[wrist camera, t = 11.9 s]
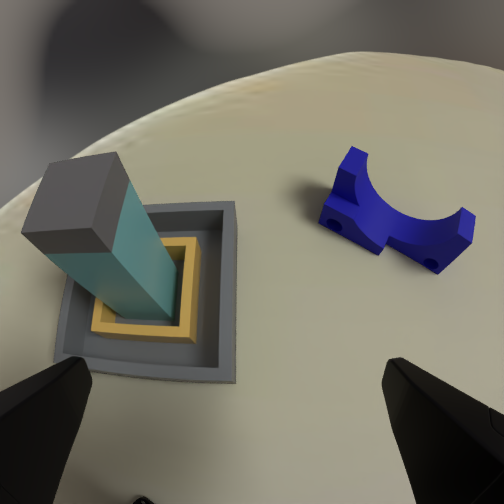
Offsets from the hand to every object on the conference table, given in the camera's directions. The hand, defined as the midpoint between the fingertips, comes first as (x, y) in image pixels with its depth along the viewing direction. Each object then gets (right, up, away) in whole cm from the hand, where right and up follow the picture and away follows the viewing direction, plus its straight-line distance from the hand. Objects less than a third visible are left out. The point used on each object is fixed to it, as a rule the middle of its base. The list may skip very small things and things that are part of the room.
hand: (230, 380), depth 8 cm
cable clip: (+13, +5, +18) cm, 22 cm away
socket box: (-7, 0, +15) cm, 17 cm away
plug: (-7, 0, +15) cm, 16 cm away
